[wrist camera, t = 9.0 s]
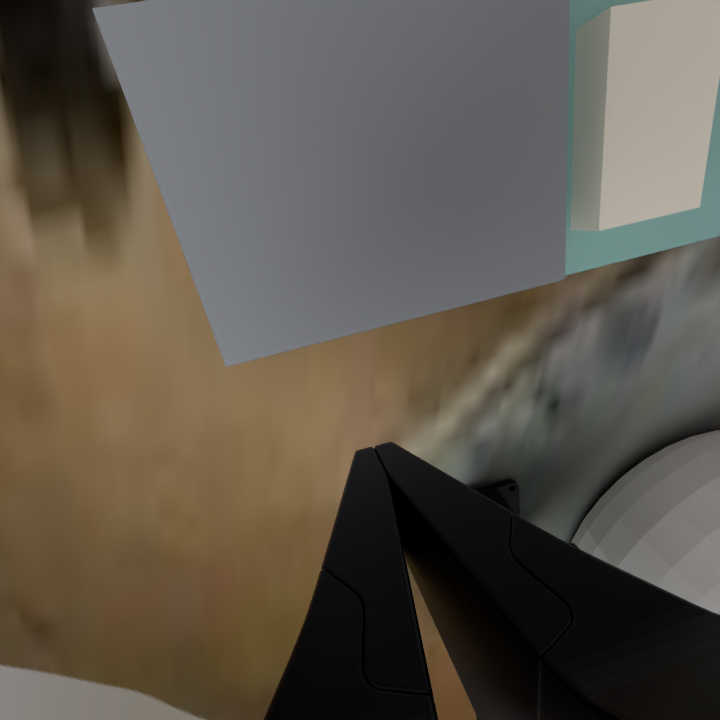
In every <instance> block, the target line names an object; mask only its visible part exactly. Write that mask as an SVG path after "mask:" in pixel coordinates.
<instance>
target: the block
mask: <svg viewBox="0 0 720 720" xmlns="http://www.w3.org/2000/svg"><path fill="white" fill-rule="evenodd" d="M719 78H720V0H650V1H643V2H637V3H631V4H624V5H618V6H612V7H610V8H608V9H607V10H605V11H604V12H602V13H600V14H599V15H597V16H596V17H594V18H593V19H591V20H590V21H588V22H587V23H585V24H583V25H582V26H580V27H579V28H577V29H576V45H575V82H574V119H573V157H572V194H571V230H580V231H601V230H606V229H610V228H614V227H618V226H623V225H627V224H631V223H635V222H640V221H644V220H648V219H652V218H657V217H661V216H665V215H669V214H674V213H678V212H682V211H686V210H691V209H695V208H699V207H700V203H701V197H702V190H703V184H704V177H705V170H706V164H707V157H708V151H709V144H710V137H711V131H712V124H713V118H714V111H715V104H716V98H717V91H718V85H719Z"/></svg>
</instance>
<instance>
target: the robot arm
mask: <svg viewBox="0 0 720 720" xmlns="http://www.w3.org/2000/svg"><path fill="white" fill-rule="evenodd" d="M405 559H406V560H405ZM406 561H407V563H408V565H409V568H410V570H411V572H412V574H413V576H414V579H415V581H416V583H417V585H418V587H419V590H420V592H421V594H422V596H423V598H424V601H425V603H426V605H427V607H428V609H429V612H430V614H431V616H432V618H433V620H434V623H435V625H436V627H437V629H438V632H439V634H440V636H441V638H442V640H443V643H444V645H445V647H446V649H447V651H448V654H449V656H450V658H451V660H452V662H453V665H454V667H455V669H456V671H457V673H458V676H459V678H460V680H461V682H462V684H463V687H464V689H465V691H466V693H467V696H468V698H469V700H470V702H471V704H472V707H473V709H474V711H475V713H476V717H477V720H720V615H719V614H717V613H714V612H711V611H709V610H707V609H705V608H702V607H700V606H698V605H696V604H693V603H691V602H689V601H687V600H685V599H683V598H681V597H679V596H676V595H674V594H672V593H670V592H668V591H666V590H664V589H662V588H660V587H658V586H655V585H653V584H651V583H649V582H647V581H645V580H643V579H641V578H639V577H636V576H634V575H632V574H630V573H628V572H626V571H624V570H622V569H620V568H618V567H615V566H613V565H611V564H609V563H607V562H605V561H603V560H601V559H599V558H597V557H595V556H593V555H591V554H589V553H587V552H585V551H583V550H581V549H579V548H578V547H577V546H576V545H575V544H574V543H573V542H572V543H571V544H568V543H566V542H564V541H562V540H561V539H559V538H557V537H555V536H553V535H552V534H550V533H548V532H546V531H544V530H543V529H541V528H539V527H537V526H535V525H533V524H532V523H530V522H528V521H527V520H525V519H523V518H521V517H520V509H519V486H518V484H517V483H516V482H515V481H514V480H513V479H509V480H505V481H502V482H499V483H496V484H493V485H490V486H487V487H483V488H480V489H477V490H473V489H472V488H470V487H468V486H466V485H465V484H463V483H461V482H460V481H458V480H456V479H454V478H453V477H451V476H449V475H448V474H446V473H444V472H443V471H441V470H439V469H437V468H436V467H434V466H432V465H431V464H429V463H427V462H425V461H424V460H422V459H420V458H419V457H417V456H415V455H413V454H412V453H410V452H408V451H407V450H405V449H403V448H402V447H400V446H398V445H396V444H395V443H393V442H388V443H384V444H380V445H377V446H375V448H373V447H369V448H365V449H361V450H357V451H356V452H355V454H354V458H353V461H352V465H351V468H350V471H349V475H348V478H347V482H346V485H345V489H344V492H343V495H342V499H341V502H340V506H339V509H338V513H337V516H336V519H335V523H334V526H333V530H332V533H331V537H330V540H329V543H328V547H327V550H326V554H325V557H324V561H323V564H322V570H321V571H320V574H319V577H318V580H317V584H316V587H315V591H314V594H313V597H312V600H311V603H310V606H309V609H308V612H307V615H306V618H305V621H304V624H303V626H302V629H301V631H300V634H299V636H298V639H297V641H296V644H295V646H294V649H293V651H292V654H291V656H290V659H289V661H288V663H287V666H286V668H285V670H284V673H283V675H282V677H281V680H280V682H279V684H278V687H277V689H276V691H275V694H274V696H273V698H272V701H271V703H270V705H269V708H268V710H267V712H266V715H265V717H264V720H438V717H437V712H436V707H435V703H434V698H433V692H432V688H431V683H430V678H429V673H428V668H427V663H426V658H425V653H424V648H423V643H422V639H421V634H420V629H419V624H418V619H417V614H416V609H415V604H414V599H413V594H412V590H411V585H410V580H409V575H408V570H407V565H406Z"/></svg>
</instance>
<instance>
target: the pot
mask: <svg viewBox="0 0 720 720" xmlns="http://www.w3.org/2000/svg"><path fill="white" fill-rule="evenodd" d="M572 542H573V543H574V544H575V545H576V546H577V547H578V548H579V549H581V550H583V551H585V552H587V553H589V554H591V555H593V556H595V557H597V558H599V559H601V560H603V561H605V562H607V563H609V564H611V565H613V566H615V567H618V568H620V569H622V570H624V571H626V572H628V573H630V574H632V575H634V576H636V577H639V578H641V579H643V580H645V581H647V582H649V583H651V584H653V585H655V586H658V587H660V588H662V589H664V590H666V591H668V592H670V593H672V594H674V595H676V596H679V597H681V598H683V599H685V600H687V601H689V602H691V603H693V604H696V605H698V606H700V607H702V608H705V609H707V610H709V611H711V612H714V613H717V614H719V615H720V430H717V431H712V432H707V433H703V434H699V435H695V436H691V437H688V438H686V439H684V440H681V441H679V442H676V443H674V444H672V445H669V446H667V447H665V448H663V449H662V450H660V451H658V452H657V453H655V454H653V455H652V456H650V457H648V458H646V459H645V460H643V461H642V462H640V463H639V464H638V465H637V466H635V467H634V468H633V469H631V470H630V471H629V472H627V473H626V474H625V475H624V476H622V477H621V478H620V479H619V480H618V481H617V482H616V483H615V484H614V485H613V486H612V487H611V488H610V489H609V490H608V491H607V492H606V493H605V494H604V495H603V496H602V497H601V498H600V499H599V500H598V501H597V503H596V504H595V505H594V507H593V508H592V509H591V511H590V512H589V513H588V514H587V516H586V517H585V518H584V520H583V522H582V523H581V525H580V527H579V529H578V530H577V532H576V534H575V536H574V538H573V539H572ZM572 542H571V543H572Z"/></svg>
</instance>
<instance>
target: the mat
mask: <svg viewBox="0 0 720 720" xmlns="http://www.w3.org/2000/svg"><path fill="white" fill-rule="evenodd" d="M643 1H650V0H570V5H569V68H568V132H567V195H566V259H565V276H566V275H569V274H573V273H577V272H581V271H585V270H589V269H593V268H597V267H601V266H605V265H608V264H612V263H616V262H620V261H624V260H628V259H632V258H636V257H640V256H644V255H647V254H651V253H655V252H659V251H663V250H667V249H671V248H675V247H679V246H683V245H686V244H690V243H694V242H698V241H702V240H706V239H710V238H714V237H718V236H720V78H719V85H718V91H717V98H716V104H715V111H714V118H713V124H712V131H711V137H710V144H709V151H708V157H707V164H706V170H705V177H704V184H703V190H702V197H701V203H700V207H699V208H695V209H691V210H686V211H682V212H678V213H674V214H669V215H665V216H661V217H657V218H652V219H648V220H644V221H640V222H635V223H631V224H627V225H623V226H618V227H614V228H610V229H606V230H601V231H580V230H571V194H572V157H573V119H574V82H575V45H576V29H577V28H579V27H580V26H582V25H583V24H585V23H587V22H588V21H590V20H591V19H593V18H594V17H596V16H597V15H599V14H600V13H602V12H604V11H605V10H607V9H608V8H610V7H612V6H618V5H624V4H631V3H637V2H643Z"/></svg>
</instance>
